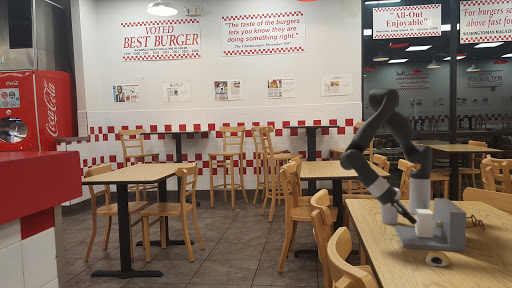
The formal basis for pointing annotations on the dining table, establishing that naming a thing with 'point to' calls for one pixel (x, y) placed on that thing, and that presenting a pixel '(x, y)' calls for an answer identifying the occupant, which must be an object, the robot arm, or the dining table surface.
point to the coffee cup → (390, 211)
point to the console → (439, 229)
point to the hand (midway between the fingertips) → (415, 222)
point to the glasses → (476, 223)
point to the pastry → (437, 259)
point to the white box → (424, 223)
